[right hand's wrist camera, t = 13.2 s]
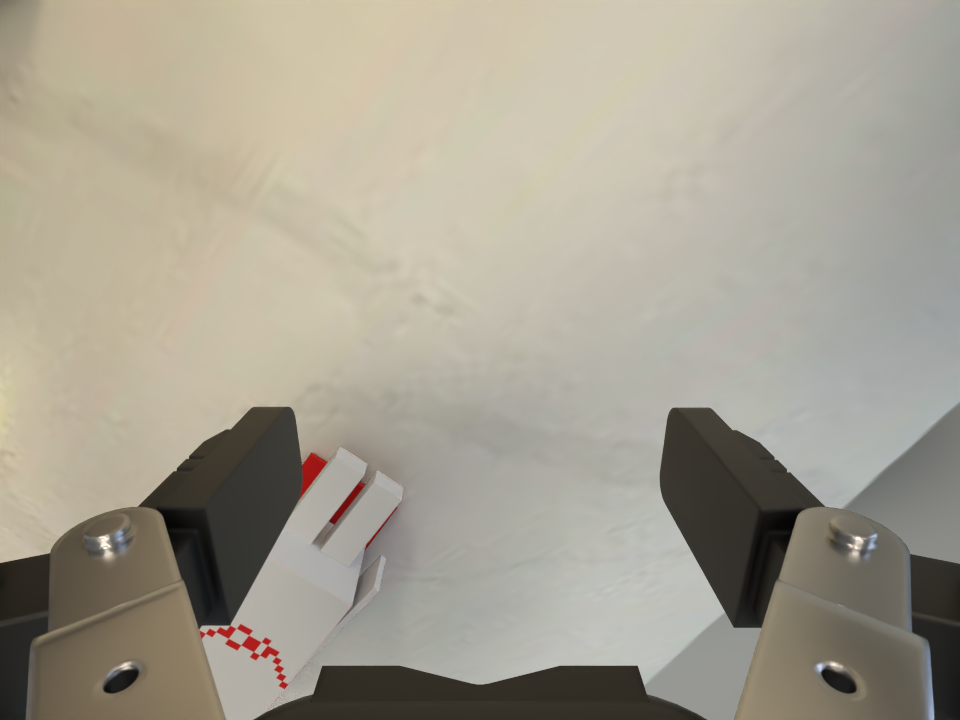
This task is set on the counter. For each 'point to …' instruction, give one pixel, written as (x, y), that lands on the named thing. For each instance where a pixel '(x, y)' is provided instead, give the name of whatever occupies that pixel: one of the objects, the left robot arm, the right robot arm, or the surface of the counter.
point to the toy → (303, 585)
